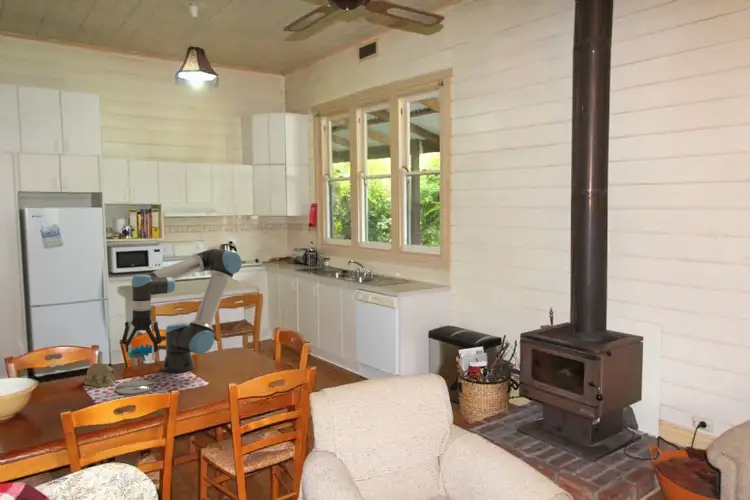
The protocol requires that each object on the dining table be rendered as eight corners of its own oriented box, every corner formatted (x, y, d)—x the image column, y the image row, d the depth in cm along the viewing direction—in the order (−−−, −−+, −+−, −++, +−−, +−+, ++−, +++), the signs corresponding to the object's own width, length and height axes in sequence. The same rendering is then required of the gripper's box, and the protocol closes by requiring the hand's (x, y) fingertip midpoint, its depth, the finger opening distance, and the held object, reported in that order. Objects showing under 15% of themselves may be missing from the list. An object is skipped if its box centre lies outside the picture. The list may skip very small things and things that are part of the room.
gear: (153, 352, 256) (153, 340, 249) (155, 363, 253) (156, 352, 246) (127, 358, 251) (126, 346, 243) (129, 369, 248) (129, 358, 240)
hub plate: (120, 383, 257) (120, 381, 257) (157, 382, 260) (157, 379, 260) (111, 395, 242) (111, 392, 241) (150, 393, 244) (150, 391, 244)
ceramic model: (120, 380, 263) (120, 359, 262) (107, 388, 251) (106, 366, 251) (92, 378, 264) (92, 358, 263) (77, 386, 253) (77, 364, 252)
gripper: (112, 311, 243) (113, 361, 245) (165, 311, 246) (165, 361, 247) (118, 307, 251) (119, 356, 252) (169, 308, 253) (169, 356, 255)
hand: (141, 358), depth 250 cm, fingers closed on gear, 9 cm apart
